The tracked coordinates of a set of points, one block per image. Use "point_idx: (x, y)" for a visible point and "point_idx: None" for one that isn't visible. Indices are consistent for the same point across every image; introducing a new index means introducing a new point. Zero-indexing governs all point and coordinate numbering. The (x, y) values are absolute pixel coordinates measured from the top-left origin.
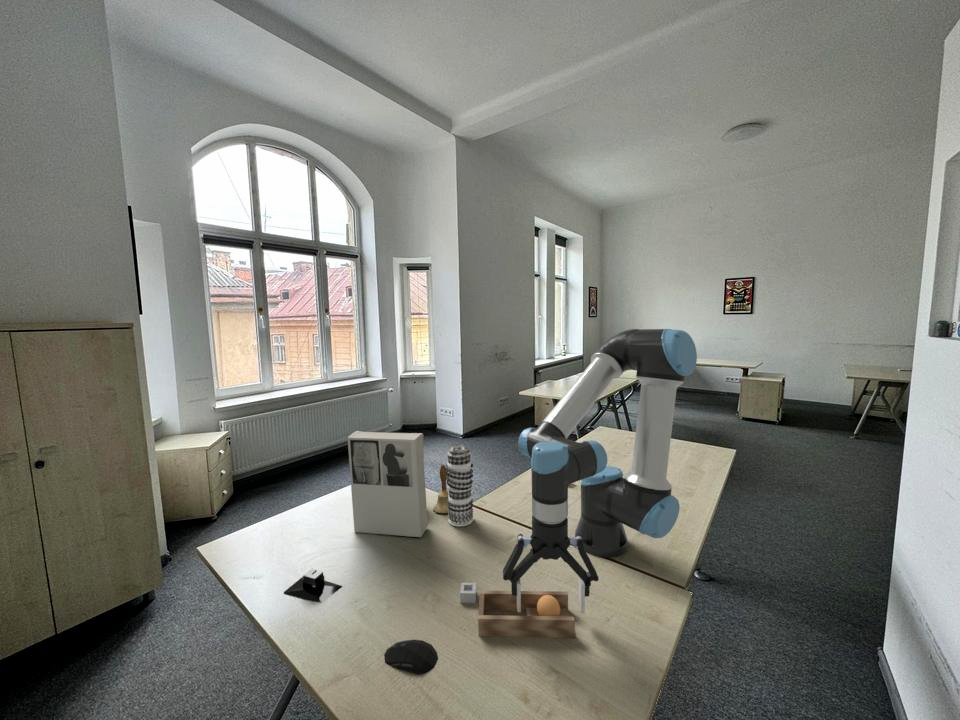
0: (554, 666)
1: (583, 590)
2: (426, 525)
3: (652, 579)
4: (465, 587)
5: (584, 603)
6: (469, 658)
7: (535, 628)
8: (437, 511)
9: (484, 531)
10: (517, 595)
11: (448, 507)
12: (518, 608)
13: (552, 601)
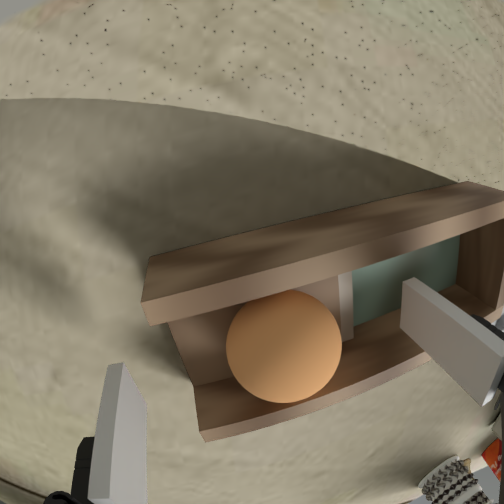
0: (227, 103)
1: (98, 466)
2: (497, 427)
3: (17, 482)
4: (497, 326)
5: (101, 402)
6: (476, 111)
7: (334, 229)
8: (467, 460)
9: (406, 478)
10: (468, 315)
11: (472, 475)
12: (422, 286)
13: (279, 372)
